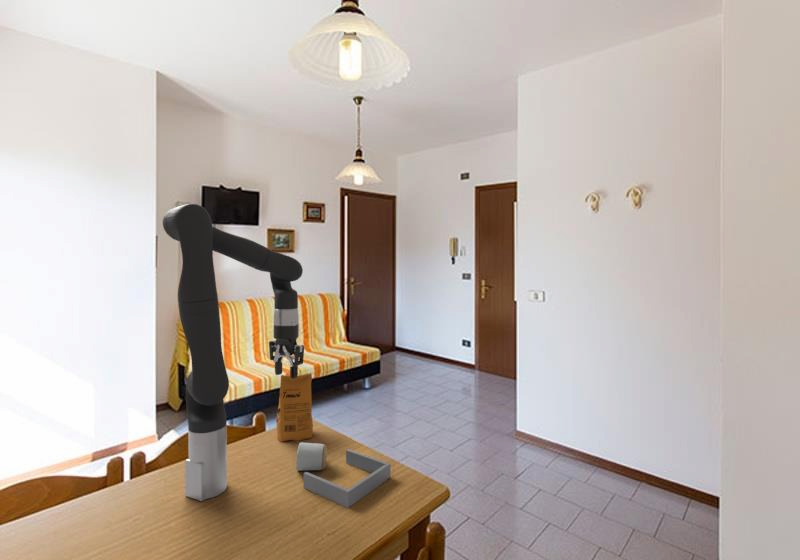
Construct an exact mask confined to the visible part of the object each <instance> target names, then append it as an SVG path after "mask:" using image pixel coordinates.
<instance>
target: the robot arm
mask: <svg viewBox="0 0 800 560" xmlns="http://www.w3.org/2000/svg"><path fill="white" fill-rule="evenodd" d="M162 227H163V231H165V233H166V235H168V237H170V238H171V239H172V240H174V241H177V242H179V246H180V250H181V256H182V267H181V271H180V272H181V273H180V278H179V282H178V287H177V288H178V289H177V302H178V303H177V304H178V311H179V320H180V323H181V327H182V330H183V333H184V337H185V341H186V343H187V345H188V349H189V353H190V358H191V371H190V372H189V373H188V375H187V377H186V382H185V402H186V403H185V405H186V406H185V407H186V409H185V410H186V419H187V426H188V428H187V431H188V433H187V434H188V435H187V436H188V441H187V442H188V443H187V444H188V446H187V447H188V448H187V449H188V458H187V459H185V461H184V470H185V471H184V473H185V474H184V477H185V478H184V479H185V482H184V484H185V485H184V487H185V488H184V489H185V493H184V495H185V497H187V498H190V499H194V500H196V501H199V502H203V501H205V500H208V499H212V498H214V497H217V496H220V495H221V494H222V493H224V492H225V491H226V490H227V488H228V460H227V459H228V453H227V452H228V451H227V450H228V449H227V448H228V447H227V446H228V445H227V444H228V443H227V442H228V441H227V440H228V432H227V430H228V426H227V423H228V422H227V419H228V418H227V413H226V412H227V411H226V410H225V409H226V408H225V405H224V404H225V403H224V399H225V398H226V396H227V395H228V391H229V388H230V380H229V376H228V371H227V369H226V368H227V367H226V364H225V358H224V354H223V350H222V349H223V348H222V332H221V331H222V330H221V327H222V326H221V318H220V317H221V316H220V307H219V306H220V305H219V298H218V297H219V296H218V289H217V283H216V282H217V281H216V273H215V265H214V257H213V256H214V253H213V252H215V253H217V254H220V255H223V256H226V257H228V258H231V259H232V260H235V261H237V262H239V263H242V264H243V265H246V266H248V267H249V268H252V269H255V270H258V271H260V272H266V273H269V276H270V277H269V278H270V282H271V287H272V291H273V295H274V297H273V298H274V308H273V339H275V340H272V341H271V340H270V341H269V342H268V350H269V352H268V353H269V360H270V361H272V362H273V363H274V373H275V375H276V376H281V375H283V360H284V357H285V358H286V360H287V361H288V362H289V365H290V366H289V376H290V378H291V379H294V378H297V376H299V372H298V371H299V370H298V369H299V366H300V365H303V364H304V359H305V358H304V355H305V345H303V344H301V345H300V344H298V343H297V342H298V341H297V339H298V338H299V336H300V335H299V334H300V332H299V329H300V328H299V321H300V319H299V318H300V317H299V314H300V313H299V295H298V291H297V290H295V289H294V288H293V287H292V282H295V281H297V280H299V279H300V278H301V277H302V275H303V266H302V264H301V262H299V260H297V259H296V258H294V257H292V256H290V255H286V254H283V253H281V252H277V251H274V250H272V249H270V248H269V247H267V246H265V245H262V244H261V243H258V242H256V241H253V240H251V239H249V238H246V237H243V236H240V235H235V234H233V233H229V232H227V231H224V230H221V229H219V228H217V227H215V226H214V225H213V221H212V218H211V215H210V213H209V212H208V211H207V209H206V208H205V207H204V206H202V205H200V204H197V203H187V204H183V205H179V206H175V207H173V208H171V209H170V210H168V211H166V213H165V214H164V215H163V218H162Z"/></svg>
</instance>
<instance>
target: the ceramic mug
mask: <svg viewBox="0 0 800 560" xmlns="http://www.w3.org/2000/svg"><path fill="white" fill-rule="evenodd" d="M326 463H327V445H326V444H324V443H314V442H299V444H298V447H297V451H296V463H295V465H296V466H295V467H296V471H298V472H301V471H302V472H303V471H304V472H308V471H321V470H324V469H325V467H326Z"/></svg>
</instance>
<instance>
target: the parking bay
mask: <svg viewBox="0 0 800 560" xmlns="http://www.w3.org/2000/svg"><path fill="white" fill-rule="evenodd" d="M345 463H346V464H347V465H350V466H353V467H354V468H355V467H356V468H358V469H361V470H362V471H363V470H364V471H366V472H368V473H370V474H369V475H367V476H365V477H364V478H363V479H361V480H359V481H358V482H356V483H355V484H353V485H351V486H350V487H349V488H346V487H344V486H341V485H339V484H337V483H334V482H332V481H329V480H327V479H325V478H323V477H321V476H318V475H315V474H313V473H310V472H308V471H304V472H303V489H306V490H308V491H310V492H312V493H314V494H316V495H319V496H321V497H323V498H326V499H327V500H330V501H332V502H333V503H336V504H338V505H341V506H343V507H345V508H347V509H348V508H350V507H351V506H352V505H354V504H355V503H357V502H359V501H360V500H362V498H364V497H366V496H367V495H368V494H370V493H372V491H374V490H375V489H376V488H378V487H379V486H381V485H382V484H383V482H384V483H385V482H386V481H388V480H389V479H390V478H391V466H392V465H391V463H389V462H387V461H384V460H381V459H378V458H375V457H372V456H370V455H366V454H363V453H360V452H358V451H355V450H353V449H350V448H348V449H346V451H345ZM389 477H390V478H389ZM388 478H389V479H388ZM387 479H388V480H387Z"/></svg>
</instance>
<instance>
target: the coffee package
mask: <svg viewBox="0 0 800 560" xmlns="http://www.w3.org/2000/svg"><path fill="white" fill-rule="evenodd" d="M312 381H313V377H312V373H311V372H309V373H305V374H301V375H299V374H298V376H297V378H294V379H291V378H290V375H288V374H287V375H286V374H280V383H279V384H280V385H279V398H278V407H277V411H276V431H277V432H276V435H277V437H276V438H277V440H278V441H279V443H280V442H281V443H282V442H287V441H296V442H300V441H302V440H307V439H311V438H312V437H313V431H314V429H313V427H314V423H313V416H312V413H313V412H312V411H313V410H312V408H313V407H312V406H313V405H312V404H313V403H312V399H313V398H312Z"/></svg>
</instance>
